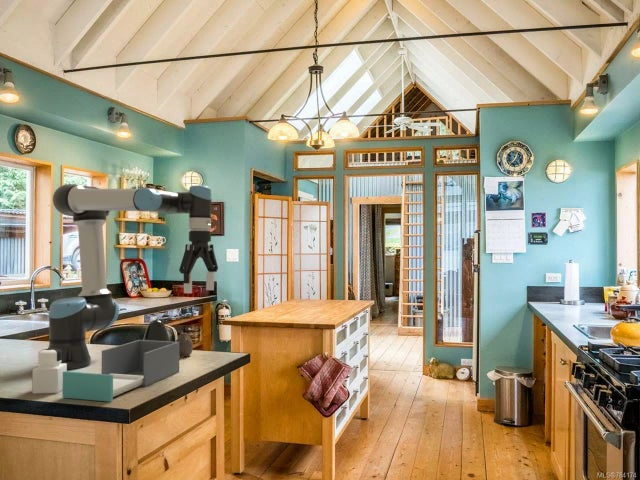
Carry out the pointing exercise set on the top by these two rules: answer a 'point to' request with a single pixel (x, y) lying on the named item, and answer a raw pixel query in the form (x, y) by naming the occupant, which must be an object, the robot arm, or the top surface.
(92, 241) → the robot arm
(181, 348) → the vase
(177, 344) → the bay
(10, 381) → the top surface
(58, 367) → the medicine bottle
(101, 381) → the tray
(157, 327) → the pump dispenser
